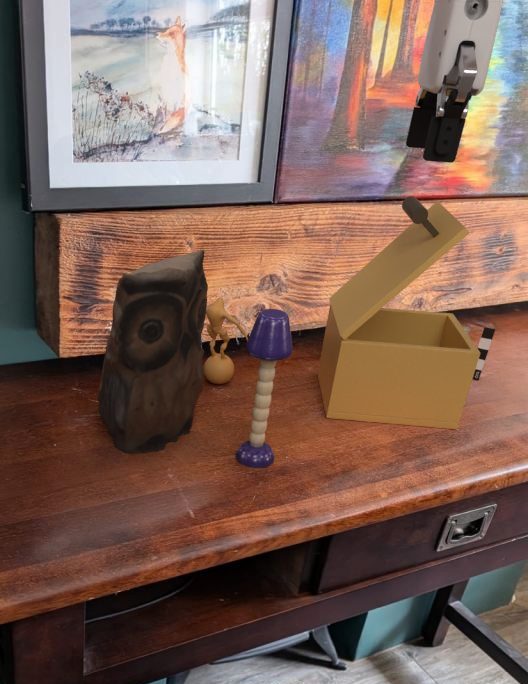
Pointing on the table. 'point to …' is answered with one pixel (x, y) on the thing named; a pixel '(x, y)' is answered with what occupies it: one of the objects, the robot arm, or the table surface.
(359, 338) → the chest
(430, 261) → the lid
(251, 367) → the table surface
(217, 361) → the figurine
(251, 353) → the toy lamp
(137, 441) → the owl
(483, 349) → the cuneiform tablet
